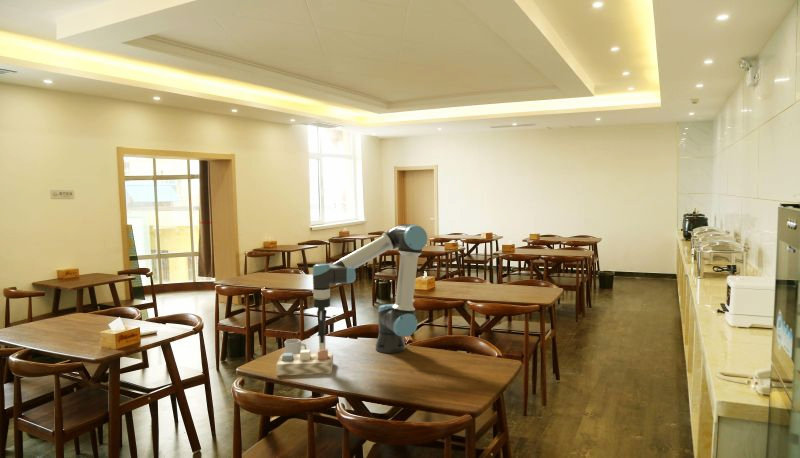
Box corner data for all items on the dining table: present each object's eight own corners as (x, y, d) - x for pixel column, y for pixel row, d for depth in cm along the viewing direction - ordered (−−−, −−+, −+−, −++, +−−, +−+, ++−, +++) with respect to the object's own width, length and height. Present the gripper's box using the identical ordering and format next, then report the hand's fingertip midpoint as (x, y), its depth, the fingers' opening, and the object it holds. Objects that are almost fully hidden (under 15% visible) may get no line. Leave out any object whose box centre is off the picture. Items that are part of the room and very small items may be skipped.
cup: (308, 354, 260) (308, 338, 259) (304, 359, 252) (303, 343, 251) (287, 354, 261) (287, 338, 260) (282, 359, 253) (282, 343, 253)
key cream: (310, 359, 240) (310, 349, 240) (309, 362, 236) (309, 352, 235) (301, 360, 240) (301, 349, 239) (300, 362, 236) (300, 352, 235)
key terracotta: (328, 359, 240) (327, 348, 240) (327, 362, 236) (327, 351, 236) (318, 359, 240) (318, 349, 240) (318, 362, 236) (317, 351, 236)
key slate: (293, 362, 240) (292, 352, 239) (291, 365, 235) (291, 355, 235) (283, 363, 239) (283, 353, 239) (282, 366, 235) (282, 355, 235)
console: (333, 363, 246) (332, 353, 245) (331, 373, 232) (330, 362, 231) (281, 365, 244) (281, 354, 244) (276, 375, 230) (276, 364, 230)
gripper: (314, 295, 243) (315, 345, 244) (311, 301, 230) (312, 353, 231) (330, 295, 243) (331, 345, 245) (329, 300, 230) (329, 353, 232)
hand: (322, 349), depth 238 cm, fingers closed
